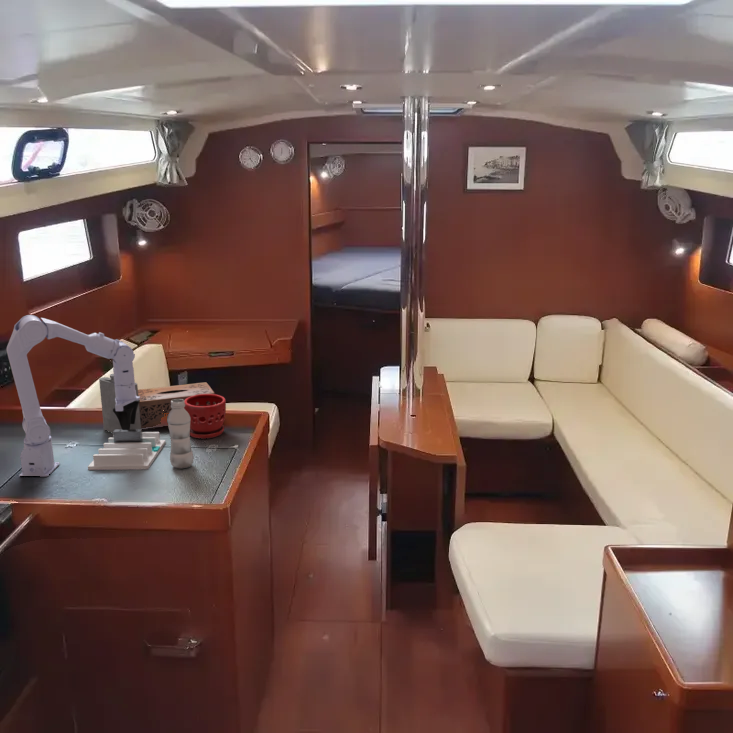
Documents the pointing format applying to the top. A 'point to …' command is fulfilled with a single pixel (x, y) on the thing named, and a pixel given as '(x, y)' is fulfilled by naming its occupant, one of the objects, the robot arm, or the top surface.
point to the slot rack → (128, 453)
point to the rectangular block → (128, 436)
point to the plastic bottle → (180, 435)
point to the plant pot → (206, 415)
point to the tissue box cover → (166, 400)
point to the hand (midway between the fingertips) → (128, 426)
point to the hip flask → (113, 405)
